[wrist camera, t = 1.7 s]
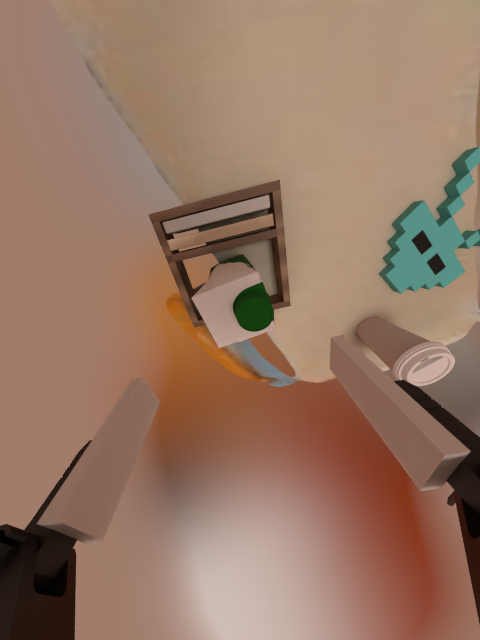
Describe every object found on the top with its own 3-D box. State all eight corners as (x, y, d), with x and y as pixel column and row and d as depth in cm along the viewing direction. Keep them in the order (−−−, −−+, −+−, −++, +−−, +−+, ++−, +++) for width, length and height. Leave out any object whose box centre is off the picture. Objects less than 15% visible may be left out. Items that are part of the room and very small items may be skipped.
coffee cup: (388, 305, 41) (466, 341, 27) (388, 335, 45) (454, 379, 32) (348, 319, 42) (403, 360, 29) (351, 347, 46) (400, 394, 33)
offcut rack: (159, 216, 30) (148, 214, 26) (272, 187, 29) (279, 179, 25) (197, 317, 39) (194, 327, 35) (284, 298, 38) (290, 305, 34)
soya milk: (259, 288, 37) (286, 340, 19) (221, 302, 38) (214, 364, 20) (246, 248, 33) (264, 267, 15) (204, 265, 34) (176, 302, 16)
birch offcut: (180, 238, 32) (166, 240, 25) (263, 217, 31) (272, 213, 24) (183, 247, 32) (171, 250, 26) (264, 226, 32) (273, 225, 25)
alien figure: (462, 152, 28) (360, 253, 35) (479, 146, 26) (368, 254, 33) (497, 234, 35) (405, 306, 41) (513, 234, 33) (414, 309, 39)
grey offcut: (175, 224, 31) (162, 222, 25) (261, 201, 30) (268, 194, 24) (178, 233, 31) (166, 233, 26) (262, 211, 30) (270, 207, 25)
